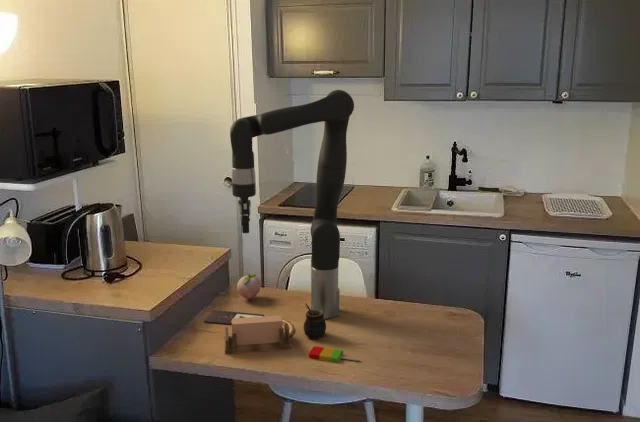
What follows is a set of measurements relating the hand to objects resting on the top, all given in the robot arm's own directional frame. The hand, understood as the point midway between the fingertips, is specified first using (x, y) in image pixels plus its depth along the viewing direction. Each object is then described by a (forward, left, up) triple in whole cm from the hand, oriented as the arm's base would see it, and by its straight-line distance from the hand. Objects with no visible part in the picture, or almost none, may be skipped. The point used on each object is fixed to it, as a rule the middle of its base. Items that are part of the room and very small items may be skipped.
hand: (245, 229), depth 196 cm
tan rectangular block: (-2, +23, -29) cm, 37 cm away
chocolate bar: (+5, +4, -31) cm, 31 cm away
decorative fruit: (-1, -12, -30) cm, 33 cm away
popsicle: (-24, +35, -31) cm, 52 cm away
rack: (-2, +23, -30) cm, 38 cm away
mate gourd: (-20, +20, -30) cm, 41 cm away
